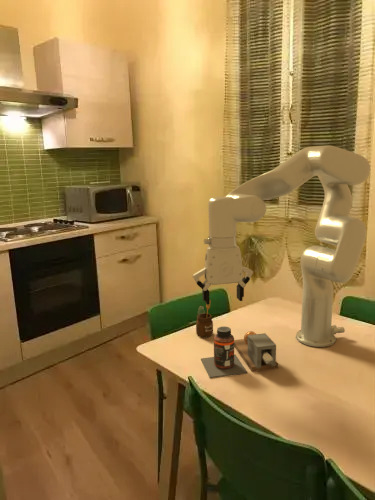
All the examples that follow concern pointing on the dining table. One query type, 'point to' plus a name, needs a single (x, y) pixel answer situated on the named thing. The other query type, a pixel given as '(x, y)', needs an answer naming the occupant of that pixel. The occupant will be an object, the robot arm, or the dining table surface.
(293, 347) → the dining table surface
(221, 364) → the supplement bottle
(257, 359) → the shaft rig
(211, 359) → the pad
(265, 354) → the shaft
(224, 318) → the dining table surface
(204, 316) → the utensil holder
